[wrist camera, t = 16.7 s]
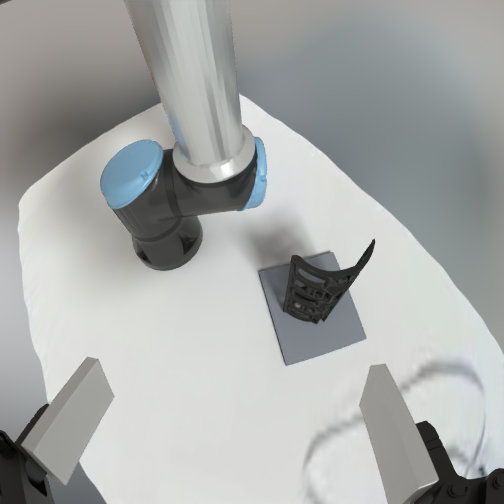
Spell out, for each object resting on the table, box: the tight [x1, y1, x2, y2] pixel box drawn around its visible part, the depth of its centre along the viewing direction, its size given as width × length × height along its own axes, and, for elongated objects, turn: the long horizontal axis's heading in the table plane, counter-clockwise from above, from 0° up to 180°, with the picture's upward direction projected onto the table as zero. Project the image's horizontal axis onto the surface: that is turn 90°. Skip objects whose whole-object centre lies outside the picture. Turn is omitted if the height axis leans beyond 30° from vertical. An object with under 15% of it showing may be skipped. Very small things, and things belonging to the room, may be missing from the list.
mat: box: [259, 252, 366, 366], centre depth 49 cm, size 18×15×1 cm
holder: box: [283, 239, 375, 325], centre depth 40 cm, size 11×8×20 cm
